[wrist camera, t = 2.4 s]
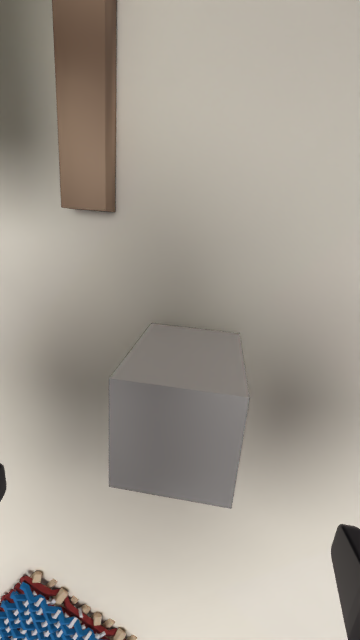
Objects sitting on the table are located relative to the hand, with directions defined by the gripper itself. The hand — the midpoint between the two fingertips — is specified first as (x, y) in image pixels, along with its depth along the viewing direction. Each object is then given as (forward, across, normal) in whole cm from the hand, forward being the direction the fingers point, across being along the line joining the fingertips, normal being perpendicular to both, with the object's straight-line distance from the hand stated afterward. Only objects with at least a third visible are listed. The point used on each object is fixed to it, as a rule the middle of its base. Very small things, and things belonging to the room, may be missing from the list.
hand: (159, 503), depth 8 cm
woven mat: (+9, +9, +25) cm, 28 cm away
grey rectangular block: (+8, 0, 0) cm, 8 cm away
